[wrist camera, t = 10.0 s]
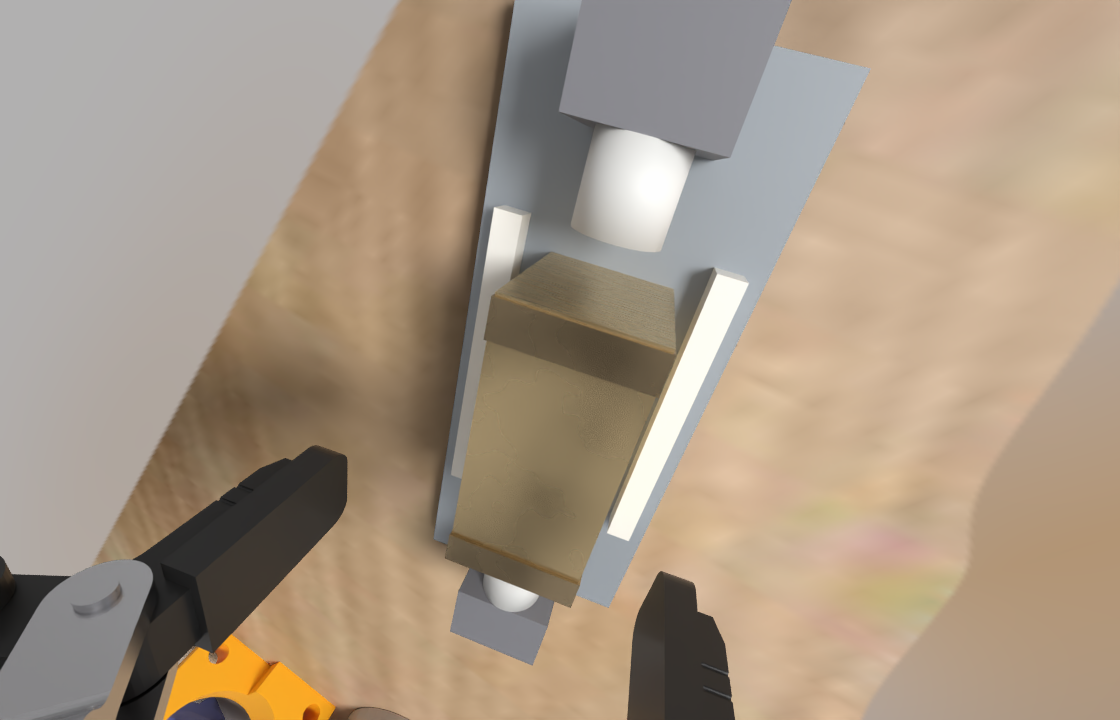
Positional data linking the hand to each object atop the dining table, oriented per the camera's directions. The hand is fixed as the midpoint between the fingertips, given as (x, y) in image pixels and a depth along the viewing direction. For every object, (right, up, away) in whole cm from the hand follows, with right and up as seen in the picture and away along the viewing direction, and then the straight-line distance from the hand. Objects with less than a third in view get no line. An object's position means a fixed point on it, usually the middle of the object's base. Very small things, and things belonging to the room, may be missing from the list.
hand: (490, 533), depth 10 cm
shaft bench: (+3, +4, +8) cm, 9 cm away
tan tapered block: (+2, +3, +7) cm, 8 cm away
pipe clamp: (-23, -23, +27) cm, 42 cm away
